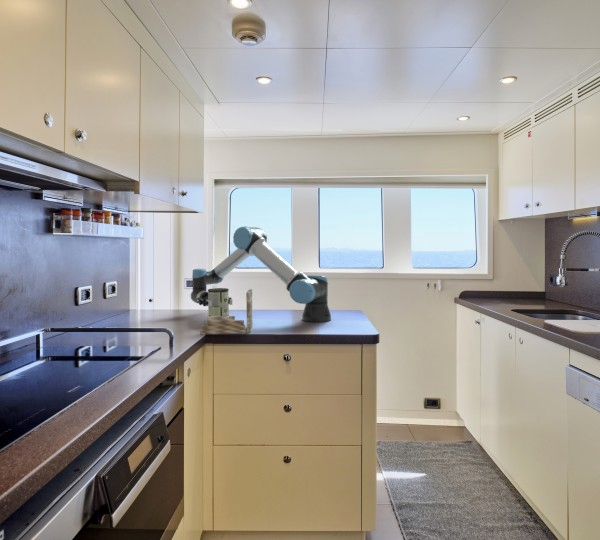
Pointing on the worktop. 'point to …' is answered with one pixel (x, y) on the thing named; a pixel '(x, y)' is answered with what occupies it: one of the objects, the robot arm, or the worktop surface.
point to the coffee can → (218, 302)
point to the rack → (249, 318)
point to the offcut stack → (223, 323)
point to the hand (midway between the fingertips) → (221, 302)
